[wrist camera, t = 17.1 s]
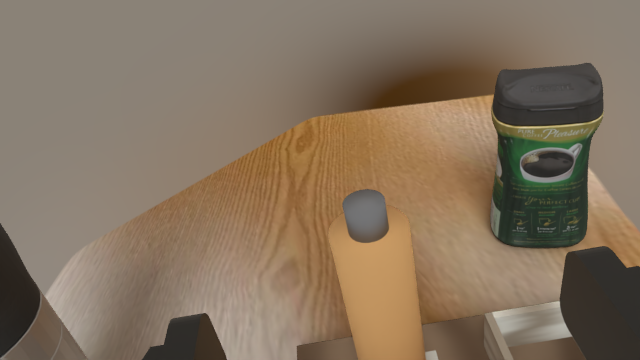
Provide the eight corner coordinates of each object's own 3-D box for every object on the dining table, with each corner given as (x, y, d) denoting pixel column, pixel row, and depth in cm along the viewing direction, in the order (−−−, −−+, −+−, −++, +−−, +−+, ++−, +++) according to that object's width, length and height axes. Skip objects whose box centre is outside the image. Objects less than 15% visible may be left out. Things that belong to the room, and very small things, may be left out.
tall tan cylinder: (358, 394, 40) (307, 200, 29) (406, 364, 42) (375, 167, 31) (392, 444, 37) (349, 243, 26) (444, 409, 38) (424, 204, 27)
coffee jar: (576, 205, 57) (598, 48, 47) (591, 253, 51) (621, 85, 41) (486, 205, 60) (489, 57, 49) (490, 251, 53) (495, 92, 43)
